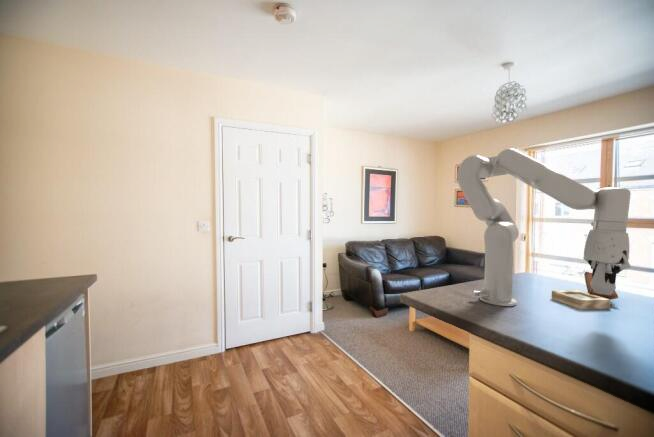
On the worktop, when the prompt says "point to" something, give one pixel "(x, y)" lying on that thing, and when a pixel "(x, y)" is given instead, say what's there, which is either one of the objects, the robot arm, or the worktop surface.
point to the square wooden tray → (581, 299)
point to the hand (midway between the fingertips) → (602, 283)
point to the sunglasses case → (588, 280)
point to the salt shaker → (602, 281)
